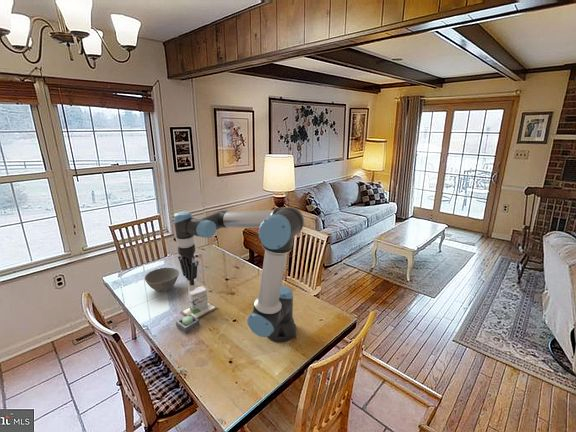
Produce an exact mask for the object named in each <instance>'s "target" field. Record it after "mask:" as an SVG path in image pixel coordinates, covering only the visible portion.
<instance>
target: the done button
mask: <svg viewBox="0 0 576 432" xmlns="http://www.w3.org/2000/svg"><path fill="white" fill-rule="evenodd" d="M183 317H184V318H183ZM183 317H182V318H183V319H182V324H183V325H185V326H187V325H189V324H191V323H192V322H193V318H192V317H191V316H187V317H185V316H183Z"/></svg>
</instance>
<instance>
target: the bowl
mask: <svg viewBox="0 0 576 432" xmlns="http://www.w3.org/2000/svg"><path fill="white" fill-rule="evenodd" d="M179 272H180V271H179V270H178V269H177V268H174V267H161V268H156V269H153V270H151V271H149V272H148V273H146V274H145V275H144V280H145V282H146V284H147V285H148V286H149V288H151V289H153V290H154V291H156V292H168V291H169V290H171V289H173V287H174V286H175V284H176V282H177V281H178V278H179V275H180V273H179Z"/></svg>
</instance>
